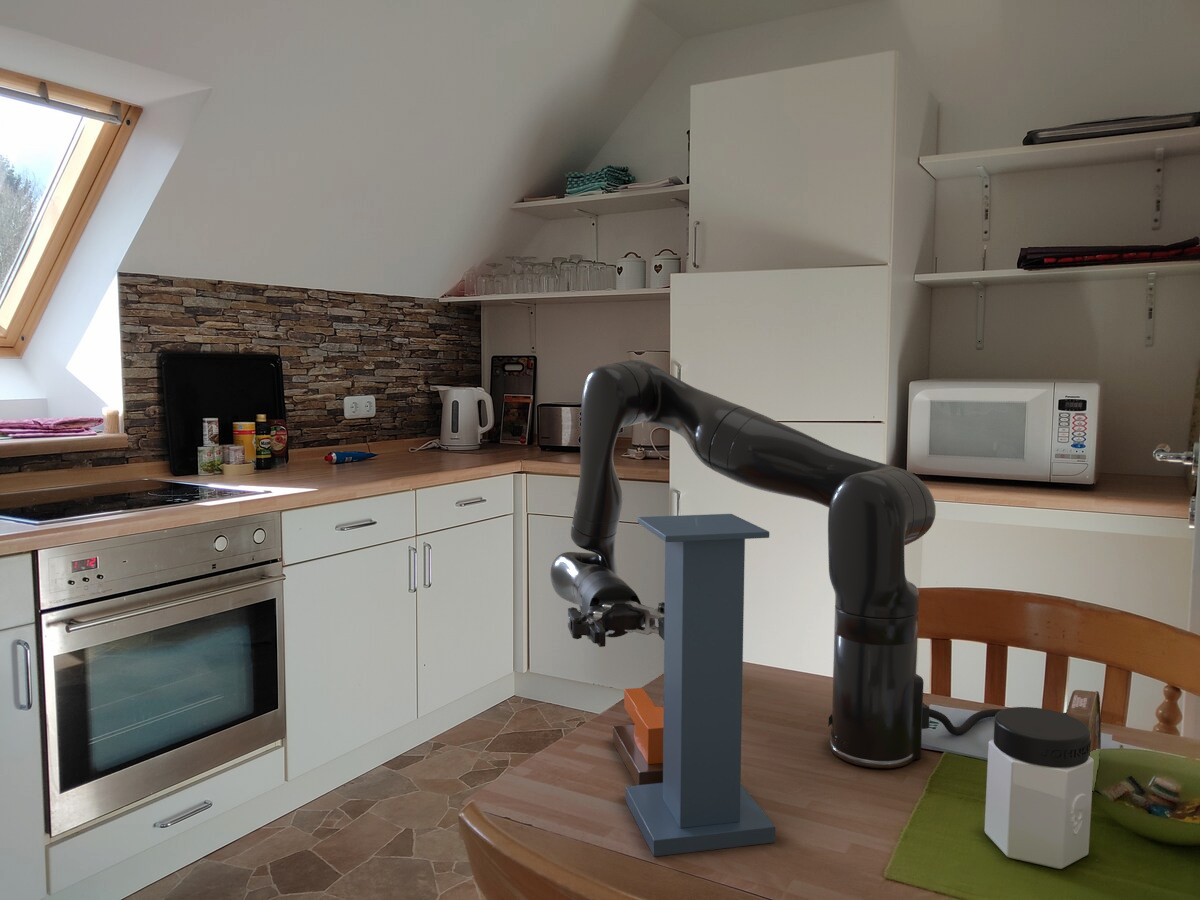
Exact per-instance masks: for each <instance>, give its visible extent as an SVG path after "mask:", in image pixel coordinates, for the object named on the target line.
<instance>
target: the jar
mask: <svg viewBox="0 0 1200 900" xmlns="http://www.w3.org/2000/svg"><path fill="white" fill-rule="evenodd" d="M1002 709H1003V710H1001V711H999V712H998V713H997V714H996V715H995V717H994V721H993V722H994V723H993V724H994V725H993V739H990V740H989V741H988V746H987V747H988V749H987V765H986V785H985V786H986V788H985V789H986V790H985V808H984V809H985V810H984V828H983V829H984V834H986V836H987V837H988V838H989V839H990V840H991V841H992V842H993V843H994V845H996V847H997V848H998V849H999V850H1000V851H1001V852H1002V853H1003V854H1004V855H1005V856H1006V858H1009V859H1013V860H1016V861H1017V860H1018V861H1022V862H1026V863H1030V864H1036V865H1039V866H1044V867H1049V868H1053V869H1057V870H1063V869H1065V868H1066V867H1068V866H1070V865H1072V864H1074V863H1076V862H1077V861H1079V860H1081V859H1083V858H1085V857H1087V856H1088V855H1089V854H1090V836H1091V822H1092V821H1091V819H1092V805H1093V804H1092V803H1093V802H1092V801H1093V792H1092V788H1093V771H1094V759H1093V758H1092V757H1090V756H1089V752H1090V746H1091V740H1090V730H1089V728H1088V727H1087V726H1086V725H1085V724H1084V723H1083V722H1081V721H1080V720H1078V719H1076V718H1074V717H1072V716H1069V715H1066V714H1063V713H1064V712H1059V711H1056V710H1052V709H1048V708H1041V707H1033V706H1032V707H1031V706H1013V707H1008V708H1007V707H1006V708H1002Z"/></svg>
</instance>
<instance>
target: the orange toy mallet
mask: <svg viewBox="0 0 1200 900" xmlns="http://www.w3.org/2000/svg"><path fill="white" fill-rule="evenodd" d="M623 707H624V709H625V710H626V712H627V714H628V715H629V717H630V719H631V721H632V722H633V723H634V725H635V743H636V745H637V747H638V748H639V750H640V752H641V753H642V755H643V757H644V758H645V760H646V762H647V763H648V764H656V763H663V722H664V705H662V706H656V704H655V703H654V702H653V700H652V699H651V697H650V695H648V693H647V692H646V691H645V690H644V688H643V687H634V688H624V689H623Z"/></svg>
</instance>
